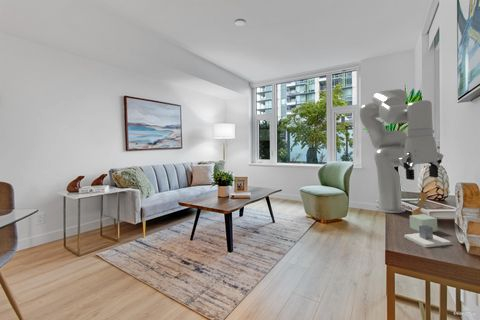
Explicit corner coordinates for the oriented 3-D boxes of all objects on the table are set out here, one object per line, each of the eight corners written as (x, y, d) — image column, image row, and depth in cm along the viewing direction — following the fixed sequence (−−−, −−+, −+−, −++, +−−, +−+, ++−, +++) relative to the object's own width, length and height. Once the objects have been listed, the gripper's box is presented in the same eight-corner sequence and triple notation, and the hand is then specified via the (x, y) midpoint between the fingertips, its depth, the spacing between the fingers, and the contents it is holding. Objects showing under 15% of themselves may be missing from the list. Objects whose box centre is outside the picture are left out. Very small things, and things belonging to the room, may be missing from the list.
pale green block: (410, 227, 95) (409, 215, 94) (424, 226, 95) (423, 214, 95) (422, 232, 89) (422, 219, 89) (437, 231, 89) (436, 218, 89)
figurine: (410, 215, 109) (408, 190, 109) (426, 216, 106) (424, 190, 106) (414, 221, 102) (413, 193, 101) (431, 222, 99) (430, 193, 98)
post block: (404, 237, 86) (403, 224, 86) (427, 234, 87) (426, 221, 87) (425, 247, 77) (424, 232, 77) (450, 244, 78) (450, 229, 78)
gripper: (432, 132, 94) (434, 175, 95) (391, 136, 93) (393, 179, 94) (450, 131, 87) (452, 177, 88) (406, 135, 85) (408, 181, 86)
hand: (422, 178), depth 91 cm, fingers open, 9 cm apart
